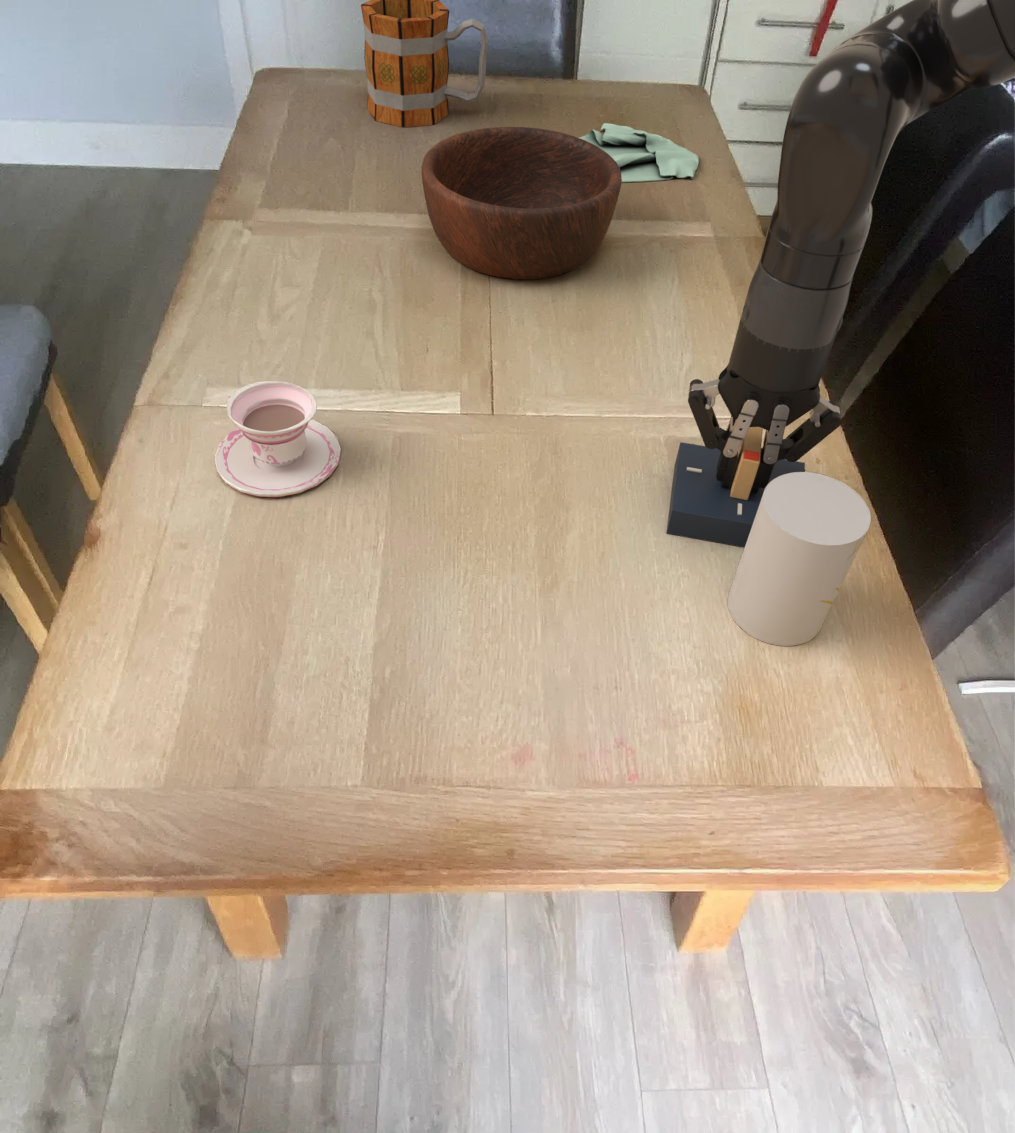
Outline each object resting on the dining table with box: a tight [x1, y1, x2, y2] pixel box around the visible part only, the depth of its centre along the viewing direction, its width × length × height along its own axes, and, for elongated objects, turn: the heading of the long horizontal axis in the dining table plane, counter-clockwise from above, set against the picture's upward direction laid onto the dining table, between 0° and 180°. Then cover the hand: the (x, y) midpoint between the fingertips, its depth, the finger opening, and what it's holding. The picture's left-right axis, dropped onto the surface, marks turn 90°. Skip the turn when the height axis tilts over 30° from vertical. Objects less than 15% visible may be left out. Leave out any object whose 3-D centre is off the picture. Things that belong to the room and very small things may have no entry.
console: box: [665, 441, 806, 548], centre depth 85 cm, size 12×11×3 cm
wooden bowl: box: [421, 126, 623, 280], centre depth 116 cm, size 25×25×10 cm
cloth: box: [579, 122, 700, 183], centre depth 140 cm, size 20×22×2 cm
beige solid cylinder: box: [727, 471, 872, 647], centre depth 73 cm, size 8×8×12 cm
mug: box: [360, 0, 490, 128], centre depth 143 cm, size 20×14×15 cm
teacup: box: [214, 380, 342, 498], centre depth 86 cm, size 12×12×6 cm
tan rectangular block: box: [730, 427, 764, 500], centre depth 83 cm, size 6×2×5 cm, turn 166°
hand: (738, 483), depth 84 cm, fingers closed
